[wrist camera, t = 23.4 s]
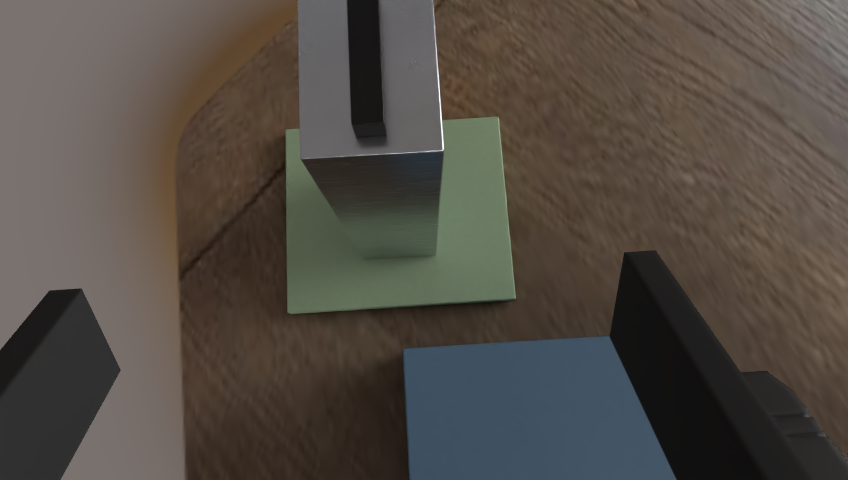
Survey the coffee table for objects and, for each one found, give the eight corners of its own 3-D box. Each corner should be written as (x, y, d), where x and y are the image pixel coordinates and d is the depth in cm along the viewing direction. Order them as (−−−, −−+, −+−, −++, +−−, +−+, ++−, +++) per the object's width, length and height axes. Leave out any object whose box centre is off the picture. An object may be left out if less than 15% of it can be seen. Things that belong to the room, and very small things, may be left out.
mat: (290, 314, 35) (286, 313, 34) (288, 133, 38) (285, 128, 37) (514, 300, 35) (516, 298, 35) (497, 121, 38) (498, 116, 37)
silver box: (363, 260, 35) (291, 147, 16) (360, 168, 36) (289, -33, 18) (436, 255, 35) (445, 138, 17) (430, 164, 36) (432, -42, 18)
